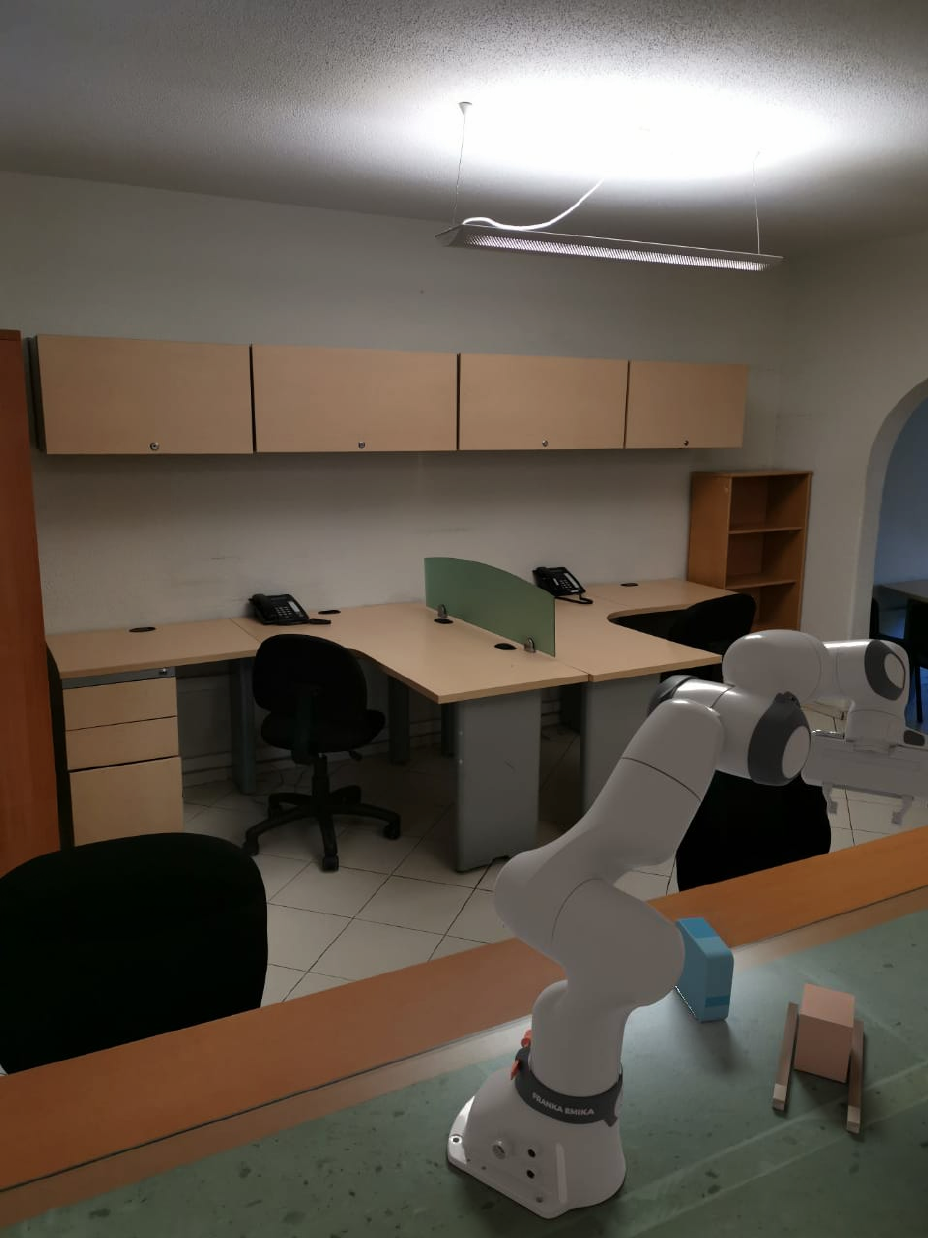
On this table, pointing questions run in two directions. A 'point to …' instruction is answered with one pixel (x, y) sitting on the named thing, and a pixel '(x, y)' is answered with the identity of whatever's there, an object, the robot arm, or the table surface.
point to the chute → (854, 1074)
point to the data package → (705, 970)
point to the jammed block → (825, 1032)
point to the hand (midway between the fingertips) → (863, 819)
